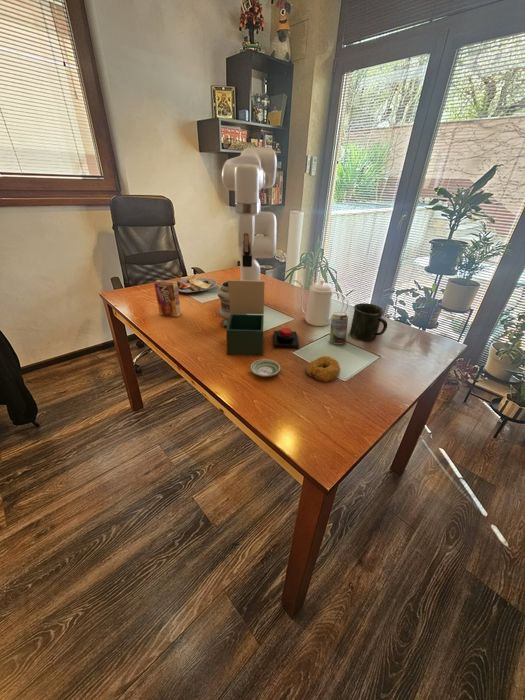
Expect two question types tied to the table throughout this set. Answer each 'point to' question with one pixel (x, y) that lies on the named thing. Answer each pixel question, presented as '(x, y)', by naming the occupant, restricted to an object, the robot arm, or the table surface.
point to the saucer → (265, 368)
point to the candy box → (167, 298)
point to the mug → (367, 322)
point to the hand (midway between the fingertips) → (247, 266)
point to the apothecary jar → (224, 303)
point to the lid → (246, 296)
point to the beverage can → (338, 327)
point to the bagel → (324, 368)
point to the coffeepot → (319, 303)
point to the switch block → (285, 340)
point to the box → (245, 334)
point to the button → (286, 332)
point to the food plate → (195, 284)
